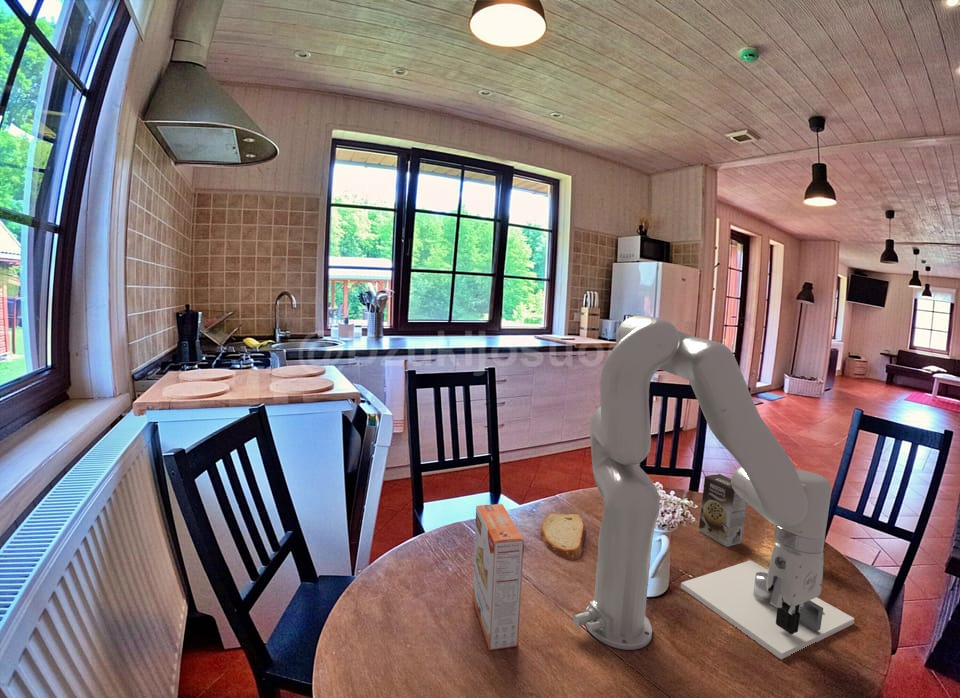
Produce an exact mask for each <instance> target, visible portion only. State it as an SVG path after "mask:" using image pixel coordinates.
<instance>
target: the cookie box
mask: <svg viewBox="0 0 960 698" xmlns="http://www.w3.org/2000/svg"><path fill="white" fill-rule="evenodd" d="M747 506H748V504H747V503H746V502H745V501H743V500H742V499H741V498H740V497H739V496H738V495H737V494H736V493H735V491H734V490H733V487H732V484H731V478H730V477H728V476H726V475H723V474H720V473H718V474H710V475H706V476H704V481H703V489H702V499H701V505H700V515H699V522H698V523H699V525H698V532H700V533H702V534H703V535H705V536H706V537H708V538H709V539H712V540H714V542H715V541H716V542H717V543H718V544H721V545H722V546H724V547H725V548H729V547H731V546H732V547H733V546H735V545H740V544H742V543H743V542H742V541H743V533H744V528H745V527H744V526H745V520H746V519H745V518H746V514H747V513H746V511H747Z"/></svg>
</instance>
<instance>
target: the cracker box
mask: <svg viewBox="0 0 960 698" xmlns="http://www.w3.org/2000/svg"><path fill="white" fill-rule="evenodd" d="M475 511H476V512H475V528H474V530H475V533H474V550H473V551H474V552H473V553H474V554H473V578H472V579H473V580H472V602H473V605H474V608H475V612H476V614H477V616H478V617H477V618H478V620H479V623H480V626H481V630H482V633H483V636H484V639H485V641H486V642H485V643H486V646H487V649H488V651H494V650H501V649H502V650H503V649H508V648H516V647H519V638H520V624H521V623H520V621H521V620H520V619H521V604H522V603H521V601H522V585H523V568H524V554H525V553H524V552H525V551H524V550H525V539H524V537H523V536H522V534H521V532H520V530H519V529H518V527H517V526H516V524H515V523H514V521H513V519H512V518H511V516H510V514H509V512H508V511H507V509H506V507H505V506H504V503H498V504H497V503H496V504H495V503H494V504H482V505H476V507H475Z"/></svg>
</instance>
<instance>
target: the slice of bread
mask: <svg viewBox="0 0 960 698" xmlns="http://www.w3.org/2000/svg"><path fill="white" fill-rule="evenodd" d="M583 520H584V519H583V518H582V516H581V515H580V514H578V513H577V514H576V513H575V514H574V513H569V514H568V513H567V514H566V513H565V514H563V513H558V512H550V513H549V514H547V515H546V517H545V518H544V519H543V522H542V523H541V527H540V529H541V530H540V533H541V537H542V538H541V539H542V542H543V544H544V545H545V546H546V548H547V549H548V550H550V551H551V552H552V553H553V554H555V555H557V556H559V557H561V558H563V559H567V560H573V561H574V560H578V559H580V558H581V555H582V552H583V548H584V543H585V541H584V540H585V535H586V527H585V524H584V521H583Z"/></svg>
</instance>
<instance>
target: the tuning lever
mask: <svg viewBox="0 0 960 698" xmlns="http://www.w3.org/2000/svg"><path fill="white" fill-rule="evenodd" d="M767 577H768V573H764V572H757V573H756V576H755V584H754V592H753V595H754V597H755V598H756V599H758V600H759V601H761V602H764V603H767V604H770V600H771V597H772V594H770V593H768V591H767ZM773 606H774V605H773ZM799 613H800V620H799V622H801V623H802V624H804V625H805V626H807V627H809V628H810V629H812V630H813V631H815V632H816V631H819V630H820V628H821V621H822V614H823V608H822V607H821V606H819V605H817V604H815V603H814V602H812V601H810V600H809V601H807V602H804V604H803V609H802V611H801V612H799Z"/></svg>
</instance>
